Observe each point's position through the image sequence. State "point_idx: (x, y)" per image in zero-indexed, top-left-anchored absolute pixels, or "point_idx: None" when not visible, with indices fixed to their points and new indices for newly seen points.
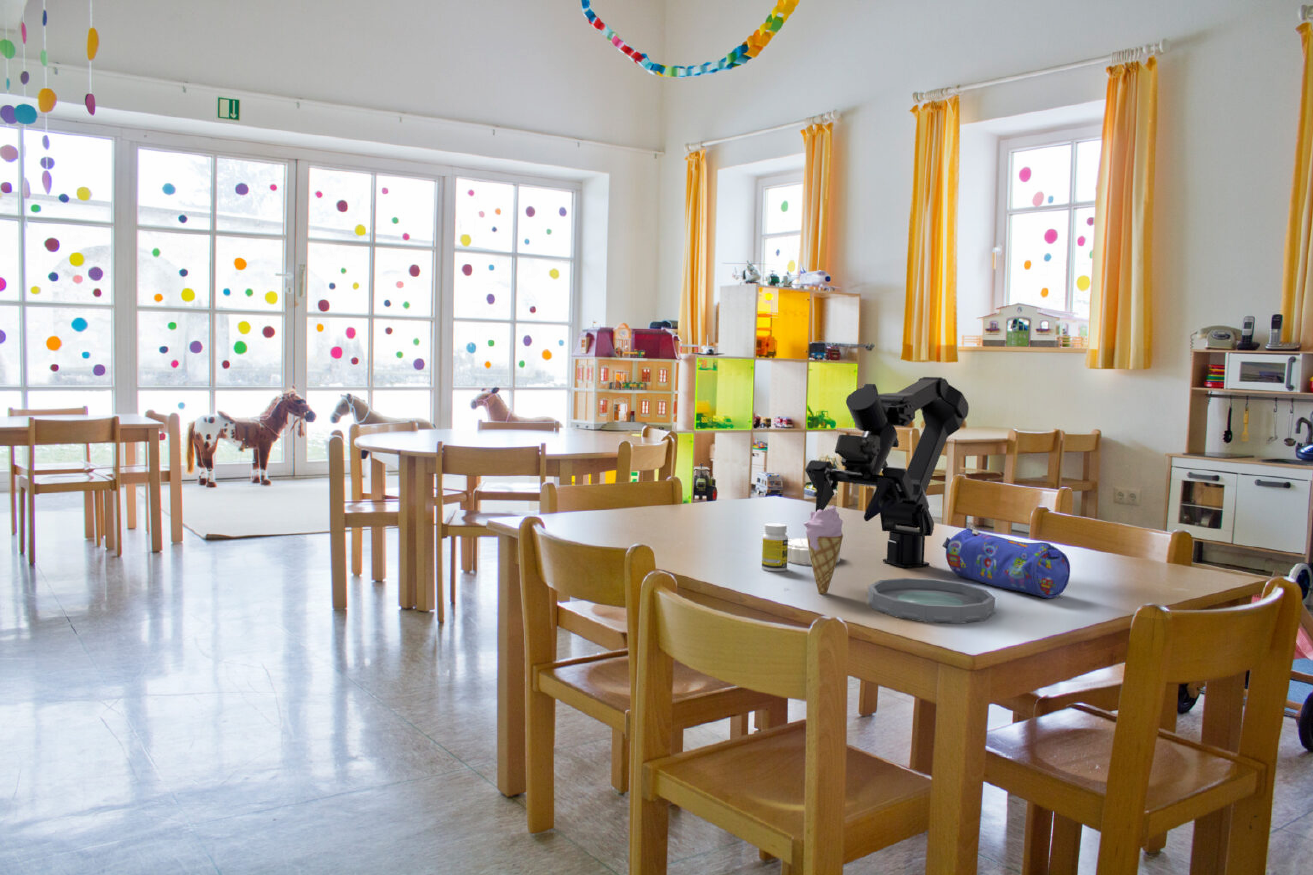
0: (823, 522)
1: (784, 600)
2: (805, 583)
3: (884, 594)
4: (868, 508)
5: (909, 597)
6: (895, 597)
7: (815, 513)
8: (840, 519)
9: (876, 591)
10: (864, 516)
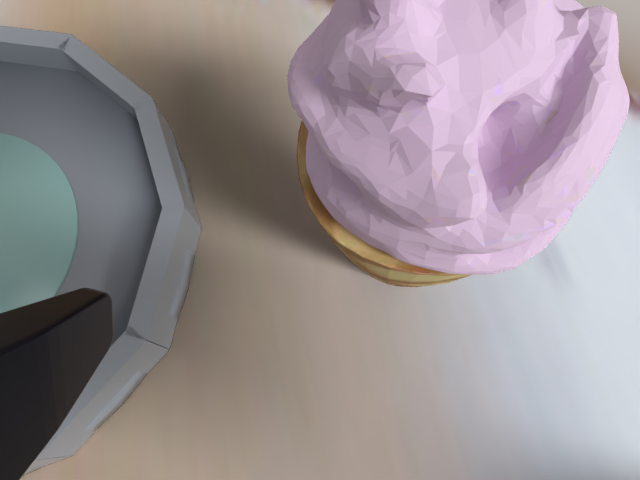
0: None
1: None
2: (525, 416)
3: (132, 258)
4: (6, 333)
5: (31, 242)
6: (87, 230)
7: (556, 11)
8: (307, 74)
9: (142, 127)
10: (97, 290)
